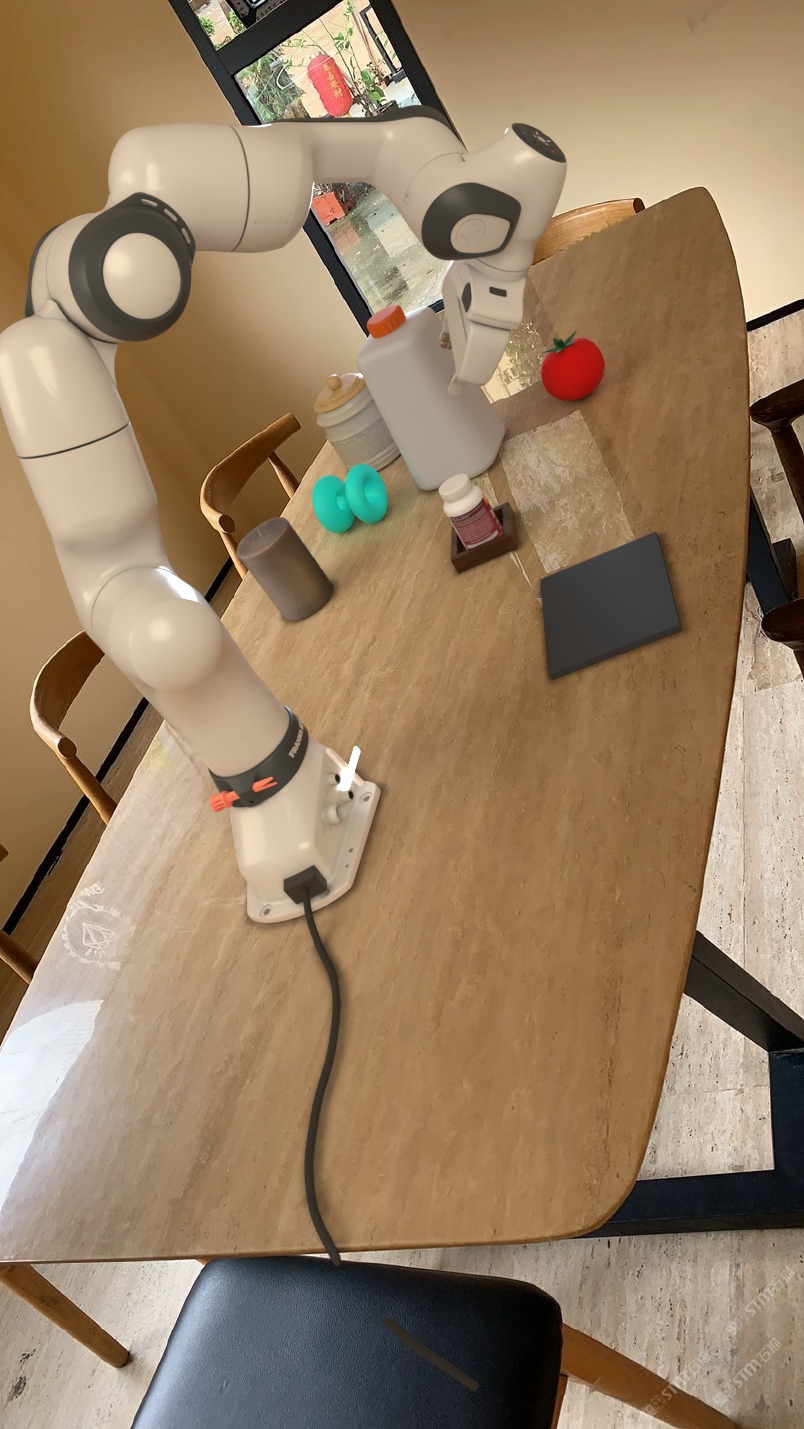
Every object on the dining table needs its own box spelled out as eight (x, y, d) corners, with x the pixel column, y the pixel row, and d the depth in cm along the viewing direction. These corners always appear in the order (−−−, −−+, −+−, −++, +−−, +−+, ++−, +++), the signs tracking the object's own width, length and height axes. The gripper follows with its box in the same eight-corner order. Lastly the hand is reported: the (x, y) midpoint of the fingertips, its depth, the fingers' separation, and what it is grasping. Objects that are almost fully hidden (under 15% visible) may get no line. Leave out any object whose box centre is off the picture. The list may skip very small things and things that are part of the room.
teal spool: (380, 532, 173) (349, 485, 168) (332, 546, 179) (301, 500, 173) (397, 497, 179) (368, 450, 174) (350, 511, 185) (321, 466, 179)
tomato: (542, 408, 175) (518, 356, 170) (590, 371, 176) (566, 318, 171) (576, 418, 167) (551, 364, 161) (626, 379, 168) (602, 324, 162)
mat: (683, 630, 117) (680, 624, 117) (551, 679, 123) (548, 674, 122) (658, 536, 132) (656, 530, 132) (543, 584, 138) (540, 579, 138)
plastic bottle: (414, 499, 175) (327, 355, 160) (437, 449, 185) (357, 308, 169) (492, 475, 167) (409, 321, 152) (513, 423, 177) (436, 273, 161)
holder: (517, 548, 148) (510, 535, 146) (458, 574, 151) (450, 560, 150) (515, 514, 155) (508, 501, 153) (459, 539, 158) (451, 526, 157)
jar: (418, 444, 191) (370, 361, 181) (360, 486, 191) (309, 404, 181) (395, 428, 201) (349, 349, 192) (341, 467, 201) (291, 390, 192)
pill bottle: (514, 534, 151) (480, 473, 145) (483, 561, 150) (448, 501, 144) (490, 526, 156) (457, 467, 150) (460, 552, 155) (426, 494, 149)
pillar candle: (341, 575, 169) (291, 502, 161) (324, 614, 163) (271, 540, 155) (294, 590, 174) (243, 520, 166) (275, 628, 168) (221, 557, 160)
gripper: (452, 217, 128) (418, 314, 139) (473, 316, 117) (434, 414, 127) (500, 230, 130) (462, 324, 141) (525, 328, 119) (482, 423, 129)
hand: (449, 368), depth 134 cm, fingers open, 8 cm apart
